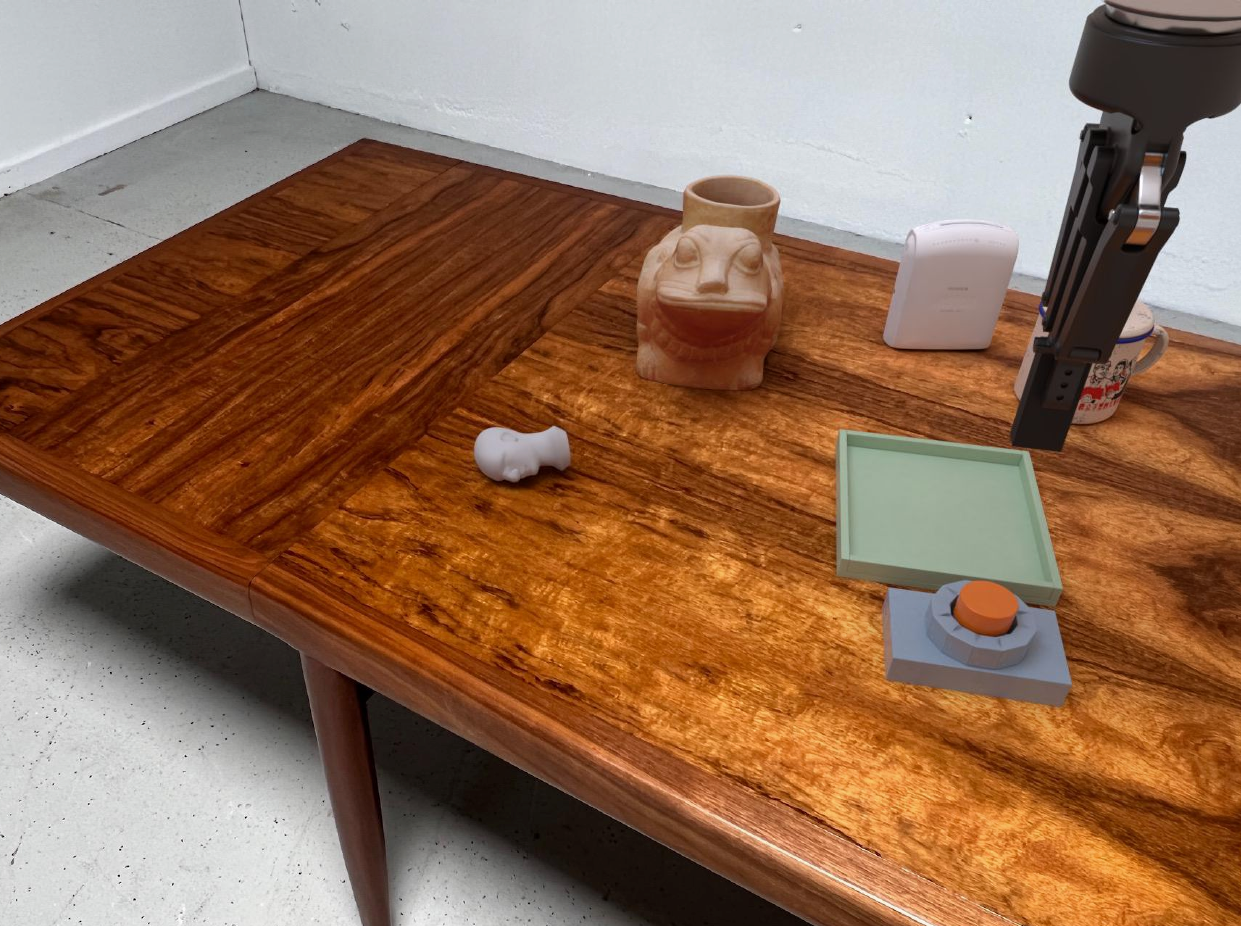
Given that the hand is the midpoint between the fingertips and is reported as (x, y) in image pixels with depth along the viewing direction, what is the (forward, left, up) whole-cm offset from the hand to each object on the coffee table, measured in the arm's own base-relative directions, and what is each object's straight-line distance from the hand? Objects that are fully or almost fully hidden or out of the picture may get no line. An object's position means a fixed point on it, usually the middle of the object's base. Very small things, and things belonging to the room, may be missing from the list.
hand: (1035, 441), depth 64 cm
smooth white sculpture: (+34, -12, -17) cm, 39 cm away
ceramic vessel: (+21, -37, -16) cm, 46 cm away
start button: (0, +2, -13) cm, 13 cm away
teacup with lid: (-13, -34, -16) cm, 40 cm away
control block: (0, +2, -16) cm, 16 cm away
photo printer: (-1, -42, -16) cm, 45 cm away
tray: (+1, -13, -16) cm, 21 cm away
